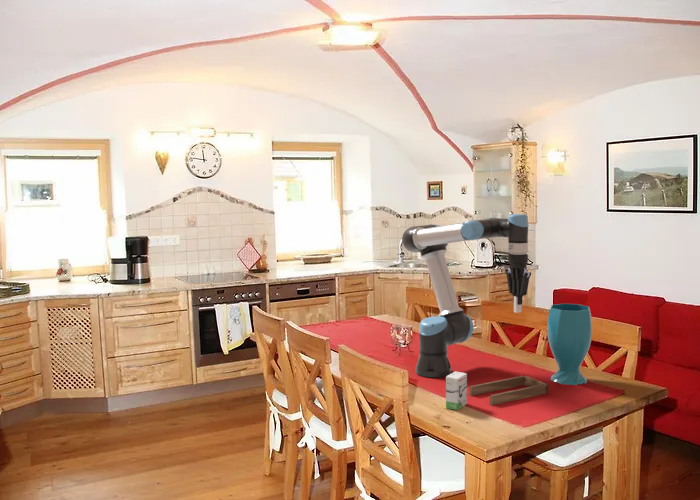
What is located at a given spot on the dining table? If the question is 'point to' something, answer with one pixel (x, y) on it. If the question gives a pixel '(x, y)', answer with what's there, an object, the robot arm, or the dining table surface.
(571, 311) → the vase
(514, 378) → the walnut frame
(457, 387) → the ink box
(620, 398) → the dining table surface
